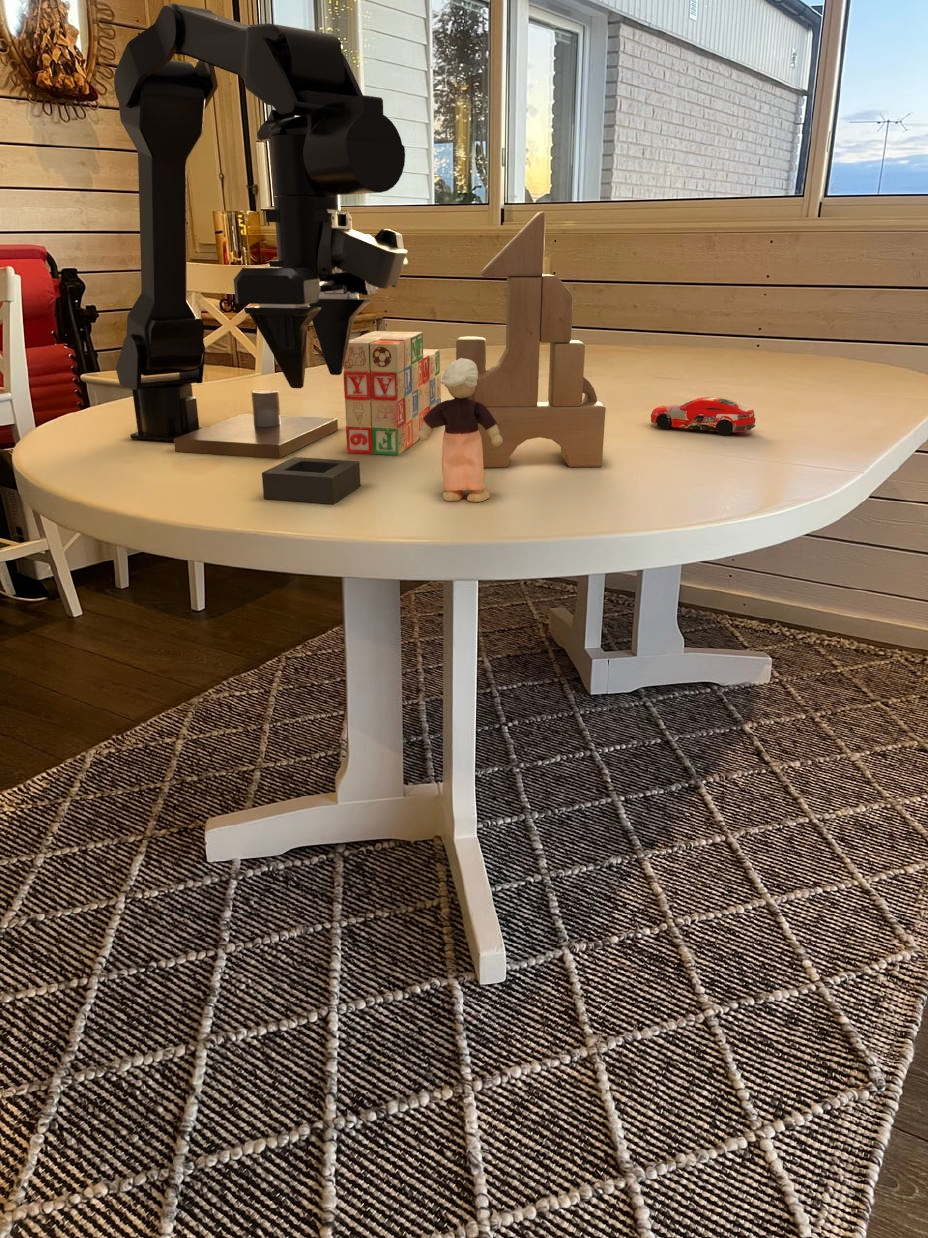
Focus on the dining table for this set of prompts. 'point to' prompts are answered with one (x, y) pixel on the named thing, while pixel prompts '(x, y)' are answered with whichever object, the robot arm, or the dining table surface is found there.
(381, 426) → the stack of blocks
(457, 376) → the grandmother figurine
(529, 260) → the wooden toy
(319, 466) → the rubber pad
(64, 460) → the dining table surface
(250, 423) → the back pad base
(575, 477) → the dining table surface
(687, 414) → the race car
